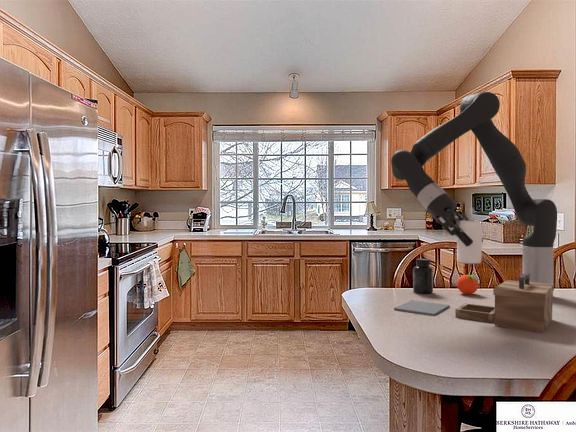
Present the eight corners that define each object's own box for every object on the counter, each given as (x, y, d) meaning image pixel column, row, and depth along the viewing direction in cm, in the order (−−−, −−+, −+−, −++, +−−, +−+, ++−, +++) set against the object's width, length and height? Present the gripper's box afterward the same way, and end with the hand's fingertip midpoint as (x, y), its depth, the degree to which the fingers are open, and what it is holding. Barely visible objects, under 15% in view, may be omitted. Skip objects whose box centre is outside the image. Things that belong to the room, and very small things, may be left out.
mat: (411, 302, 142) (411, 300, 142) (449, 307, 135) (449, 305, 135) (394, 310, 131) (393, 308, 131) (434, 315, 124) (434, 313, 124)
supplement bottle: (424, 290, 163) (424, 257, 162) (437, 293, 156) (437, 259, 156) (409, 291, 160) (409, 258, 160) (421, 295, 154) (421, 260, 153)
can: (480, 262, 126) (481, 220, 126) (482, 264, 120) (483, 220, 120) (456, 260, 128) (456, 219, 128) (457, 263, 122) (457, 220, 122)
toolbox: (468, 308, 133) (468, 266, 132) (553, 319, 119) (553, 273, 119) (451, 319, 119) (451, 273, 119) (544, 333, 106) (545, 281, 106)
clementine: (484, 296, 151) (484, 275, 151) (466, 297, 150) (466, 276, 150) (470, 292, 159) (470, 272, 159) (452, 292, 158) (452, 273, 157)
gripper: (432, 191, 124) (473, 235, 116) (456, 193, 134) (495, 233, 126) (415, 210, 128) (454, 254, 120) (439, 210, 138) (477, 251, 130)
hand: (475, 243), depth 123 cm, fingers closed on can, 6 cm apart
